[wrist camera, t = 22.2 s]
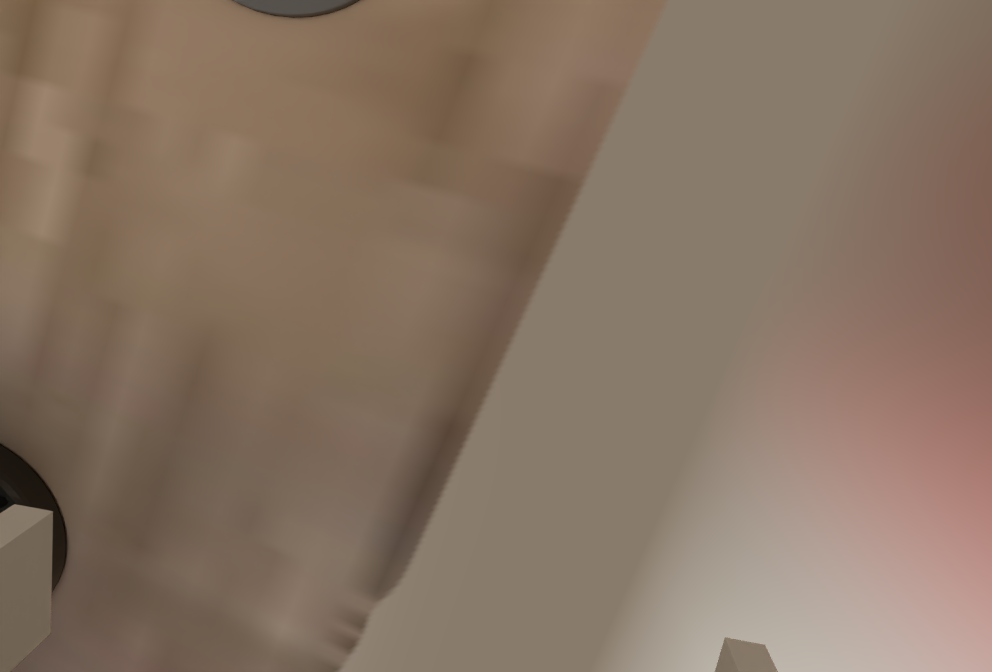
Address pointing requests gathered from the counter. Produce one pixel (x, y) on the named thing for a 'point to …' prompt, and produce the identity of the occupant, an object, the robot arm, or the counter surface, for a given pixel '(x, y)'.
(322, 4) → the coaster
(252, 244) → the counter surface
